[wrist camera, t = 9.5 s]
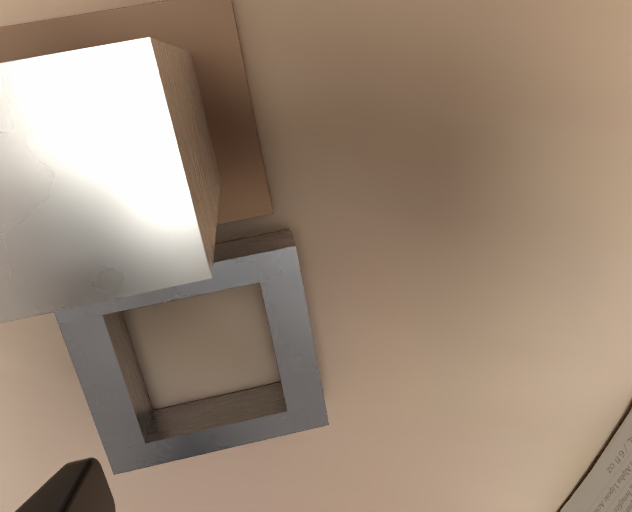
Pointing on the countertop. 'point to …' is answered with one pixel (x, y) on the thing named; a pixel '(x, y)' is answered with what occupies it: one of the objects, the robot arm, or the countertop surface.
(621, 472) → the skincare box
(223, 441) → the square metal frame
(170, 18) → the walnut pad
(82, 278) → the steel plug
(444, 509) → the countertop surface
